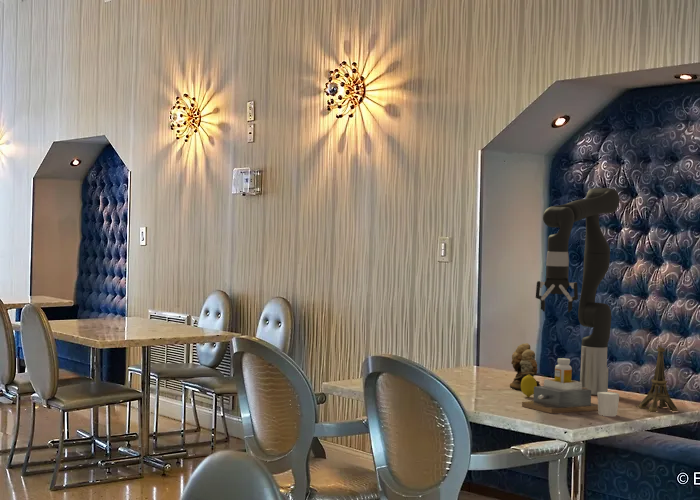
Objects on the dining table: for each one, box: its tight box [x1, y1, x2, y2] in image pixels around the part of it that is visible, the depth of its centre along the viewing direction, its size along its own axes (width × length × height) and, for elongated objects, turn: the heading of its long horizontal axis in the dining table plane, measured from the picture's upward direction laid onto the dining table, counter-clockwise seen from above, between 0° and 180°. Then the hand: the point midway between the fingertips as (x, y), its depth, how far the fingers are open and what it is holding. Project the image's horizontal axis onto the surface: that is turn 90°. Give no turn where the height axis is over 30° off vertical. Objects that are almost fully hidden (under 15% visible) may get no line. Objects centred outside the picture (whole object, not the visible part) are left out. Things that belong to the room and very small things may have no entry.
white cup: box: [596, 391, 621, 417], centre depth 315 cm, size 7×7×7 cm
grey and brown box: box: [521, 378, 598, 415], centre depth 324 cm, size 22×14×9 cm, turn 121°
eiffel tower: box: [636, 334, 679, 413], centre depth 329 cm, size 11×11×25 cm
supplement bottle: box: [554, 357, 573, 383], centre depth 324 cm, size 5×5×10 cm
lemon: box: [520, 375, 537, 398], centre depth 346 cm, size 6×6×8 cm
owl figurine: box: [509, 342, 542, 392], centre depth 367 cm, size 18×12×17 cm, turn 0°
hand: (556, 311), depth 341 cm, fingers open, 8 cm apart
